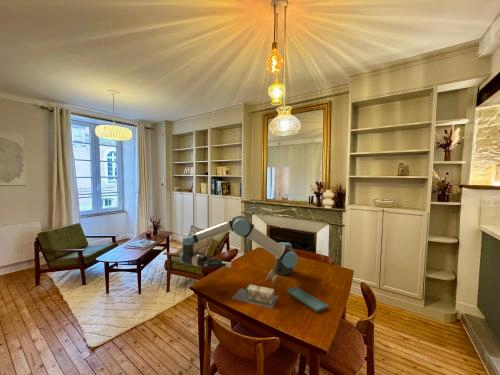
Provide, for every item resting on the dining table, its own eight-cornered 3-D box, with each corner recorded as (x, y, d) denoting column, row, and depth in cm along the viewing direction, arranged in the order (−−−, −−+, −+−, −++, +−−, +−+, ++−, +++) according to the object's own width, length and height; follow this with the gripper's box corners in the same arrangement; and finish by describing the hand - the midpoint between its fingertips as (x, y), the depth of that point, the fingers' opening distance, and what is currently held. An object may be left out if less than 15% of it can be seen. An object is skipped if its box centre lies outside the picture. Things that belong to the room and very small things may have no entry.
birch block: (246, 288, 137) (271, 293, 131) (249, 284, 142) (274, 289, 137) (246, 298, 137) (271, 303, 131) (249, 293, 143) (273, 298, 137)
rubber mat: (231, 299, 136) (231, 298, 136) (240, 288, 149) (240, 288, 149) (272, 308, 127) (272, 308, 127) (278, 296, 140) (278, 296, 140)
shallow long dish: (285, 293, 146) (286, 289, 145) (296, 289, 150) (296, 286, 150) (316, 314, 123) (316, 309, 123) (327, 309, 128) (328, 305, 128)
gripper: (205, 262, 160) (235, 267, 151) (194, 269, 148) (226, 274, 139) (205, 252, 160) (235, 256, 151) (194, 258, 147) (226, 263, 139)
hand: (230, 265), depth 145 cm, fingers closed
